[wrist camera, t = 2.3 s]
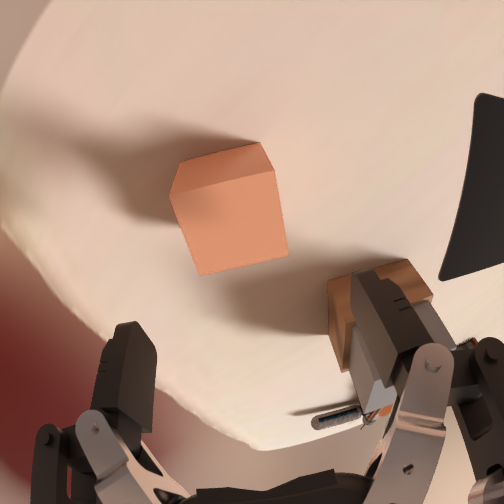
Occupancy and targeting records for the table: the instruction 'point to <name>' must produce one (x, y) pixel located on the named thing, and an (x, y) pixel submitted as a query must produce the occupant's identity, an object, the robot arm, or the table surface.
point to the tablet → (480, 196)
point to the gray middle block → (365, 369)
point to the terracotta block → (229, 209)
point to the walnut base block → (341, 309)
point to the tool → (356, 411)
